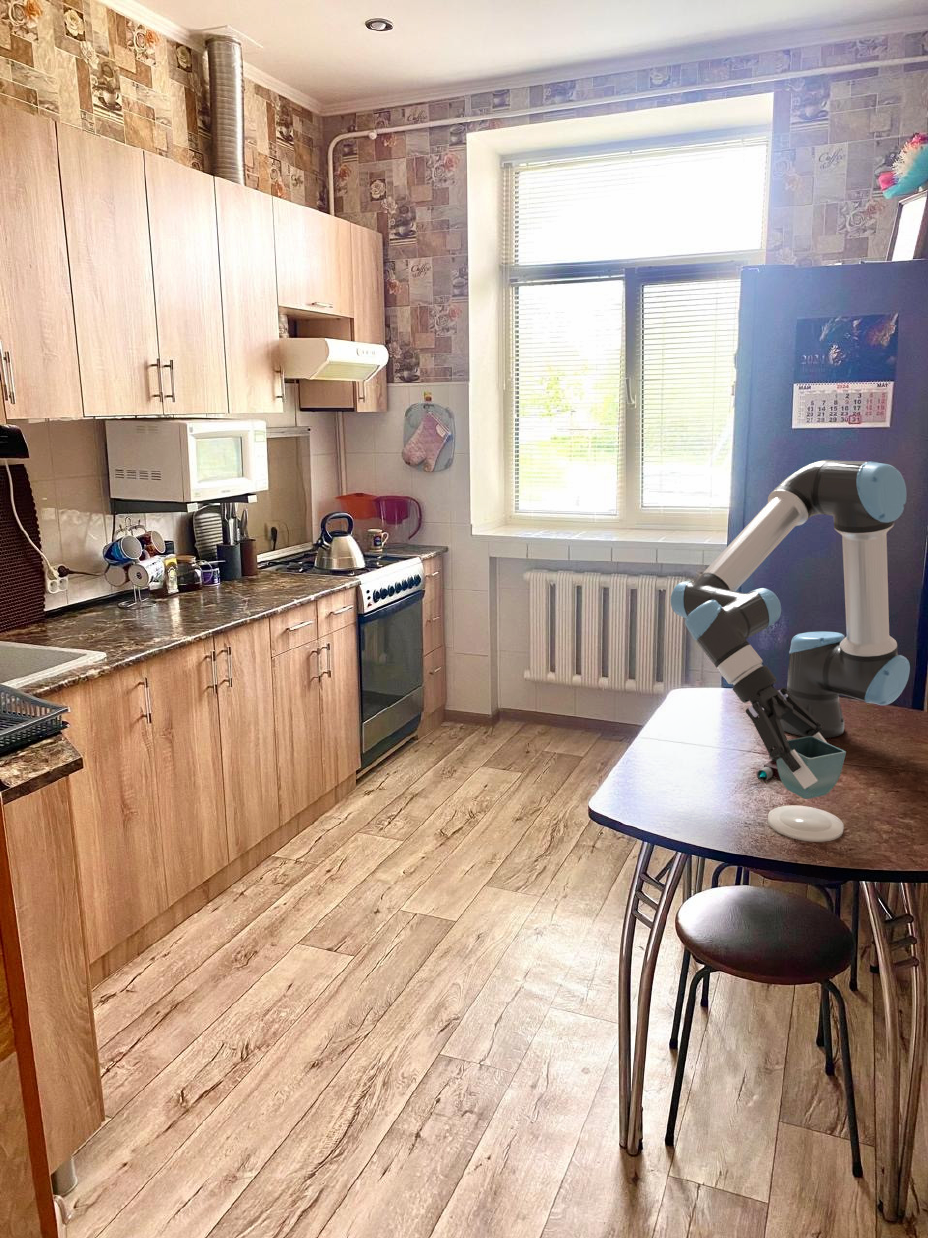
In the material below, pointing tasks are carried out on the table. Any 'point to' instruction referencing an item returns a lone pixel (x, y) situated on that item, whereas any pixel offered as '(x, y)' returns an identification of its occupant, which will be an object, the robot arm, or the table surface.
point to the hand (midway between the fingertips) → (823, 775)
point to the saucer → (805, 823)
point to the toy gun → (769, 770)
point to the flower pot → (813, 766)
